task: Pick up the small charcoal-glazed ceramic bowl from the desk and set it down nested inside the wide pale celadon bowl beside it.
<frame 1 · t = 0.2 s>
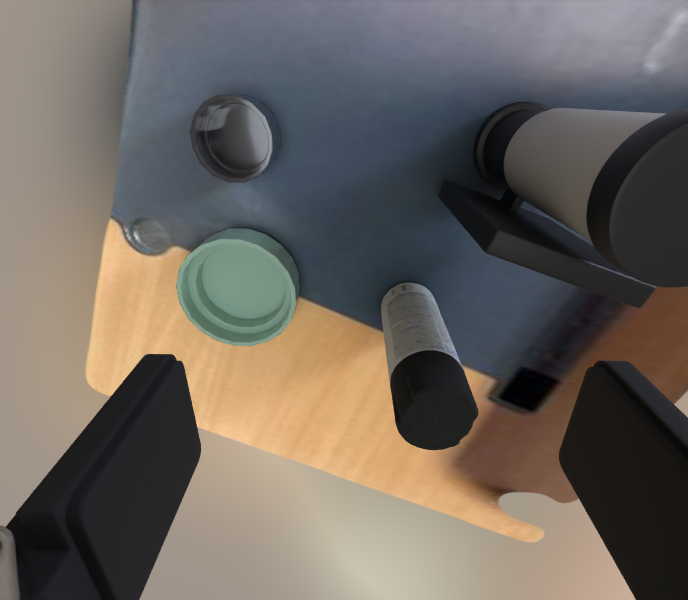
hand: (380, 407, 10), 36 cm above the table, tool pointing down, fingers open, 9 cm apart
charcoal bowl: (245, 135, 41), on the table
light fixture: (507, 159, 41), on the table
spray can: (407, 303, 49), on the table
celadon bowl: (246, 279, 48), on the table
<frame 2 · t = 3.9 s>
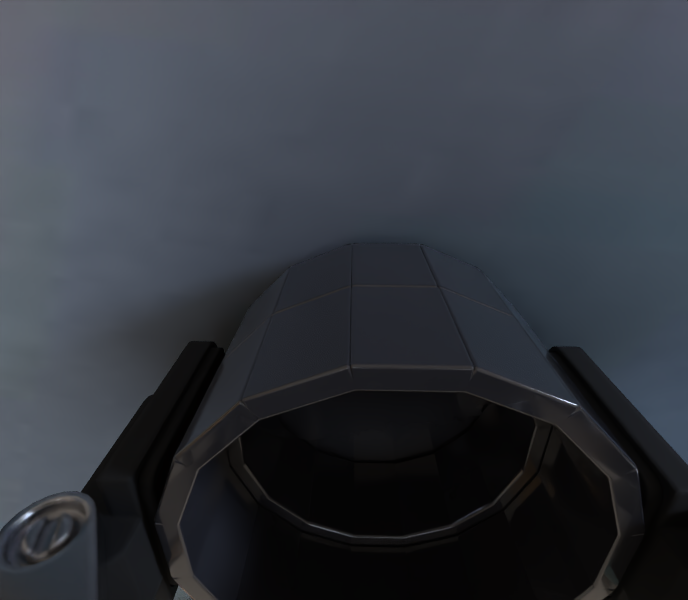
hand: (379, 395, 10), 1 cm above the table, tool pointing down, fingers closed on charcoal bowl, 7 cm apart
charcoal bowl: (377, 367, 11), on the table, touching gripper
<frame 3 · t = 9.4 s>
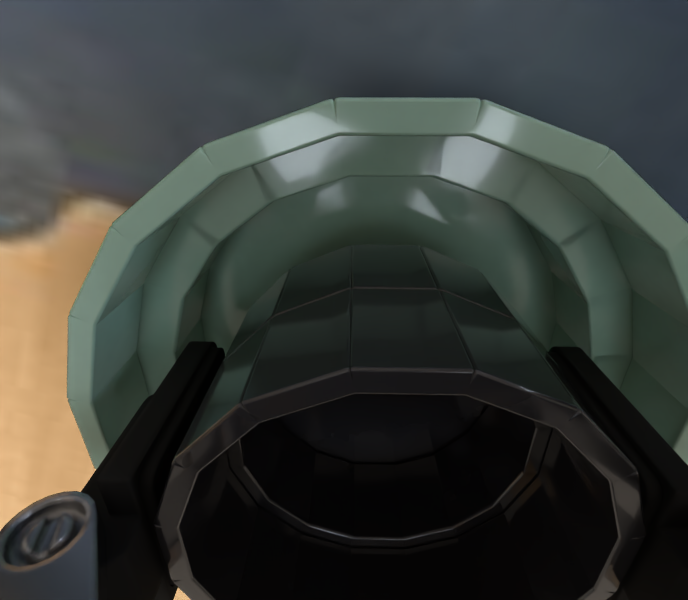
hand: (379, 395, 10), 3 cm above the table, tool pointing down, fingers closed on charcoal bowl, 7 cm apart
charcoal bowl: (377, 369, 11), point 2 cm above the table, touching gripper
celadon bowl: (375, 331, 12), on the table
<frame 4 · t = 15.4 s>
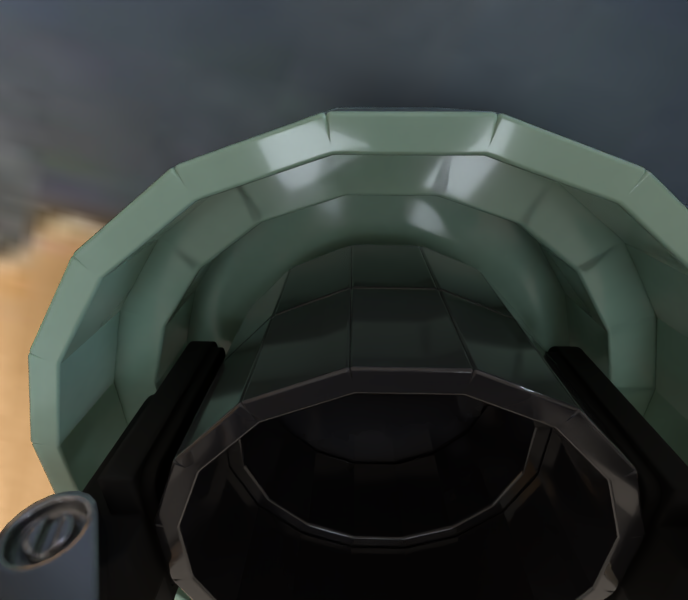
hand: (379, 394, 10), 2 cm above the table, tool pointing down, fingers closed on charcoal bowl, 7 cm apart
charcoal bowl: (377, 369, 11), point 1 cm above the table, touching gripper
celadon bowl: (374, 354, 12), on the table
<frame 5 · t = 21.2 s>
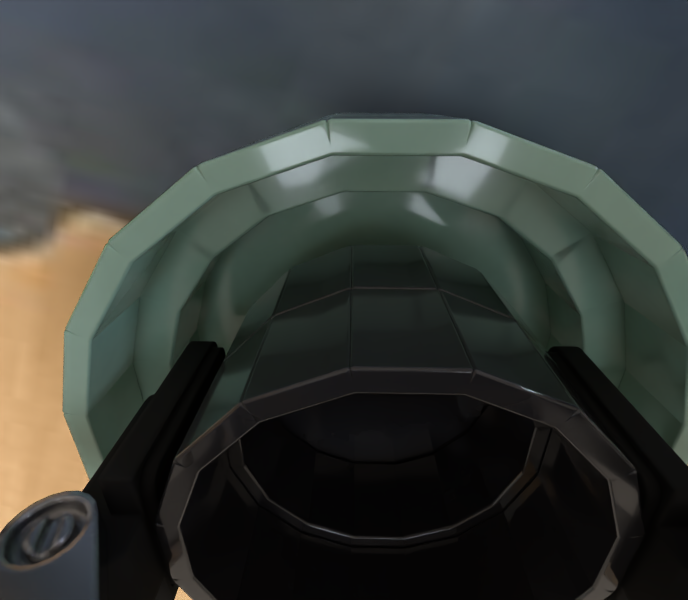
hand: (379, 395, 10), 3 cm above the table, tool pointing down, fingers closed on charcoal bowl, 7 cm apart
charcoal bowl: (377, 369, 11), point 2 cm above the table, touching gripper
celadon bowl: (371, 342, 13), on the table
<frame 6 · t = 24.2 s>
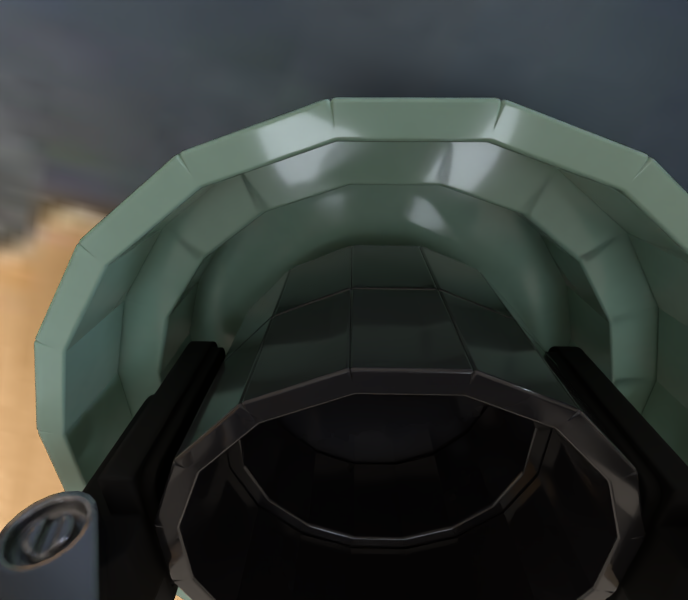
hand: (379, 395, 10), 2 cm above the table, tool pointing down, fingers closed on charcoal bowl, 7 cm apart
charcoal bowl: (377, 369, 11), point 1 cm above the table, touching gripper
celadon bowl: (376, 347, 12), on the table
when the fingers open (4 cm above the table, at t = 26.9 s): charcoal bowl drops 2 cm, resting on celadon bowl.
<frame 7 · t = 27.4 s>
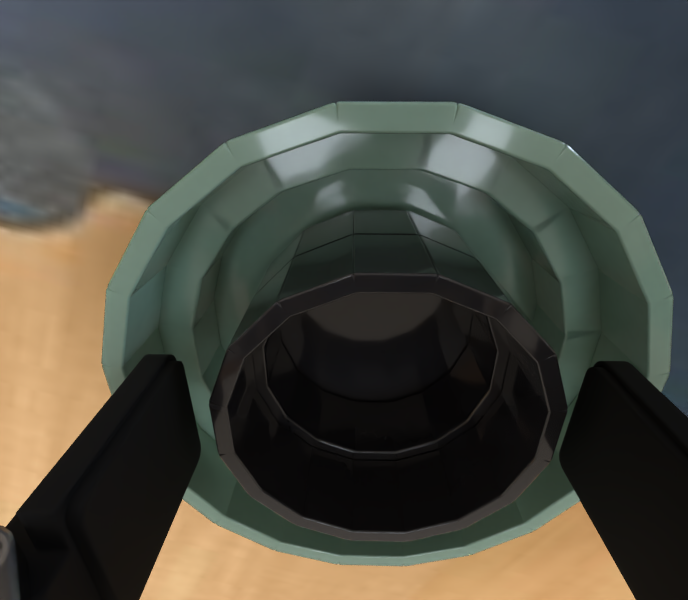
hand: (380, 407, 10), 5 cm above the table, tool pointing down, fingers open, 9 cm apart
charcoal bowl: (374, 319, 13), point 1 cm above the table, touching celadon bowl
celadon bowl: (372, 314, 14), on the table
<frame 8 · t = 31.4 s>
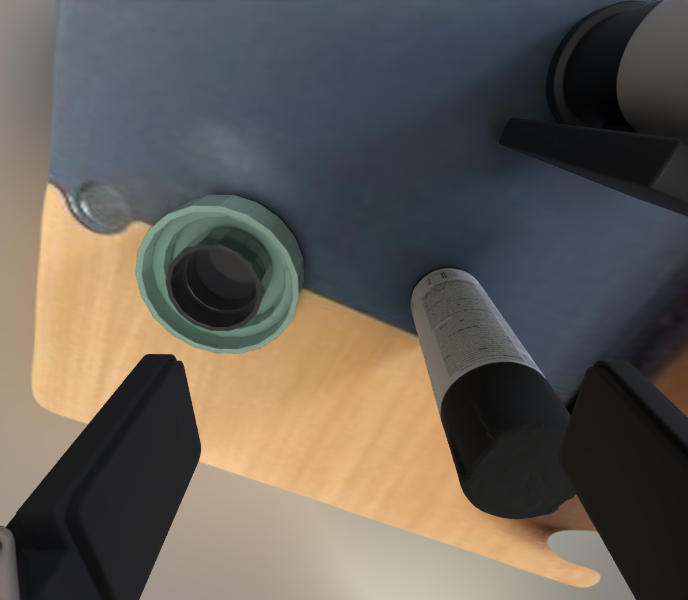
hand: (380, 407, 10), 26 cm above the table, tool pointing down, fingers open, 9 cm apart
charcoal bowl: (231, 266, 36), point 1 cm above the table, touching celadon bowl
light fixture: (592, 92, 30), on the table
spray can: (444, 297, 38), on the table
celadon bowl: (233, 265, 36), on the table
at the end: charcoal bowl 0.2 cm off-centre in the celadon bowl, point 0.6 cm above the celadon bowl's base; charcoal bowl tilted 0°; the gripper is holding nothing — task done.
